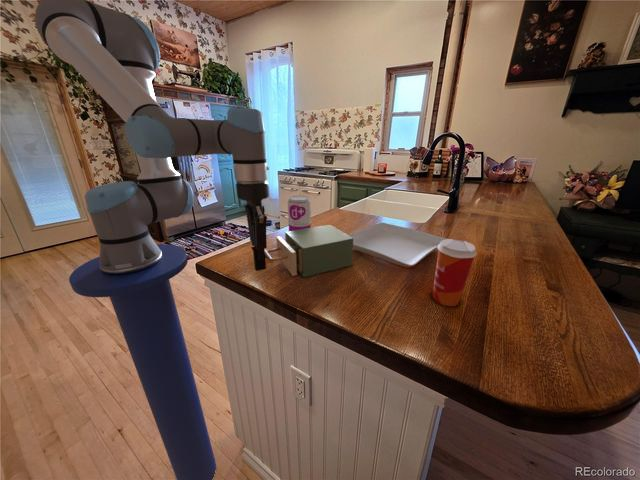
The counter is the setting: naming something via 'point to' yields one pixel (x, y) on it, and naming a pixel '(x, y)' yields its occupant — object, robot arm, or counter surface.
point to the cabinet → (322, 248)
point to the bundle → (296, 252)
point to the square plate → (395, 243)
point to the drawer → (286, 255)
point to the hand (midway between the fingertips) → (260, 268)
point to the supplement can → (299, 213)
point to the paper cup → (452, 270)
